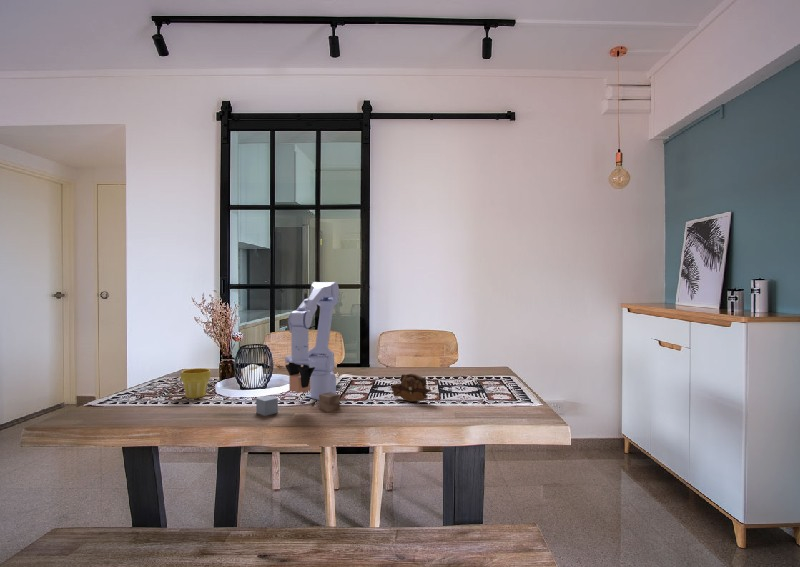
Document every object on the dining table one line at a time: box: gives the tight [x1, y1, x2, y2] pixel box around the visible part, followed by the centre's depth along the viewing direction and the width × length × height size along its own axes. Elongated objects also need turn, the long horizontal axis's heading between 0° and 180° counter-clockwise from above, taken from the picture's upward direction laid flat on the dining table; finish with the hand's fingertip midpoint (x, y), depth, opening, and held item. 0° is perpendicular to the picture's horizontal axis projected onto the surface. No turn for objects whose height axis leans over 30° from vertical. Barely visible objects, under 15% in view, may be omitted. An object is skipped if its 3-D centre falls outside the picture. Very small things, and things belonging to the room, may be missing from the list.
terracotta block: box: [288, 373, 311, 393], centre depth 156 cm, size 5×5×5 cm
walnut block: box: [318, 392, 341, 413], centre depth 158 cm, size 5×5×5 cm
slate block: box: [255, 395, 279, 417], centre depth 153 cm, size 5×5×5 cm
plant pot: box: [180, 367, 211, 399], centre depth 174 cm, size 10×10×10 cm
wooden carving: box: [390, 373, 432, 402], centre depth 168 cm, size 16×5×10 cm, turn 62°
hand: (300, 385), depth 156 cm, fingers closed on terracotta block, 5 cm apart
